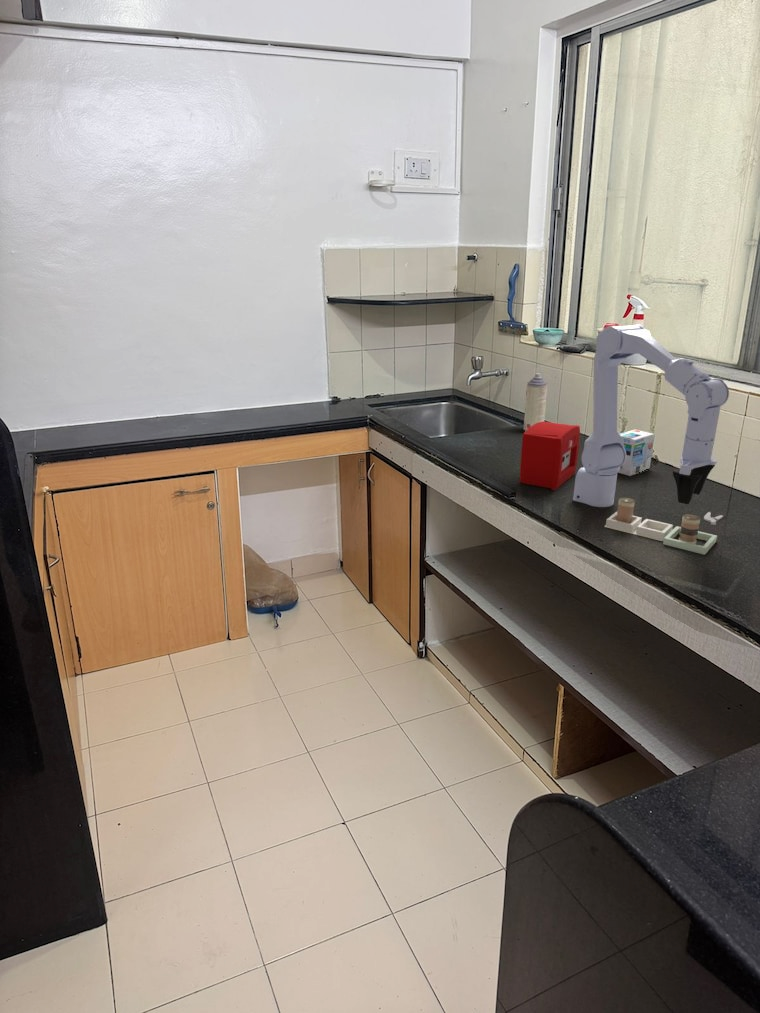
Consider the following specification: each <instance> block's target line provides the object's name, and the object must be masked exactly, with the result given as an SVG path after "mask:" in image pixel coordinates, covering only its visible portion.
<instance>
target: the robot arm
mask: <svg viewBox="0 0 760 1013" xmlns="http://www.w3.org/2000/svg"><path fill="white" fill-rule="evenodd" d="M595 342H596V343H595V344H596V346H595V347H596V348H595V350H596V351H595V353H594V356H593V357H594V358H593V393H592V394H593V396H592V397H593V402H592V403H593V405H592V406H593V411H592V412H593V414H592V415H593V417H592V422H593V423H592V426H593V427H592V428H593V429H592V431H593V432H592V433H591V434H590V435H589V436H588V437H587V438H586V439H585V441H584V443H583V444H584V446H583V447H584V448H583V451H582V454H581V464H582V466H583V467H582V466H581V467H580V468H579V469H578V471H577V473H576V475H575V479H574V488H573V496H572V500H573V501H574V502H578V503H581V504H586V505H589V506H591V507H597V508H609V507H612V506H613V505H614V504H615V503H614V501H615V494H616V487H617V481H618V480H617V478H618V473H617V472H618V471H620V467H621V466H622V465H623V464H624V463H625V461H626V456H627V455H626V450H625V448H624V439H623V438H622V437H621V436H620V435H619V434H620V433H618V427H617V426H618V387H619V386H618V382H619V381H618V380H619V379H618V378H619V374H618V371H619V366H620V365H621V364H622V363H623V362H624V361H625V360H626V359H627V358H629V357H631V356H633V355H635V354H636V355H637V354H639V356H641V357H643V358H644V359H646V360H647V361H648V362H650V363H651V364H653V365H654V366H655V367H657V368H659V369H660V371H661V370H662V371H663V372H664V380H665V381H666V382H667V383H669V385H670V386H672V387H674V388H675V389H676V390H677V391H679V392H680V394H682V395H684V399H685V403H686V404H687V414H688V416H687V423H686V430H685V436H684V440H683V446H682V453H681V455H680V467H679V468H675V469H673V471H672V476H673V479H674V481H675V485H676V492H677V493H676V494H677V502H678V503H680V504H685V505H689V504H690V503H691V500H692V498H693V495H700V494H701V492H702V491H703V488H704V485H705V483H706V481H707V478H708V476H709V475H710V474H711V472H712V470H713V469H714V468H715V466H716V464H717V461H718V460H717V459H713V458H712V454H713V450H714V443H715V439H716V434H717V427H718V424H719V418H720V413H721V412H720V411H721V407H722V406H723V405H725V404H726V403H727V401H728V400H729V397H730V390H729V387H728V385H727V384H726V382H724V380H723V379H722V378H712V377H710V374H709V373H708V372H703V371H702V370H701V369H699V368H698V367H697V366H695V365H694V361H693V360H692V359H691V358H683V357H682V358H676V357H675V356H674V355H673V354H671V353H670V352H669V351H668V350H667V349H666V348H665V347H664V346H663V345H662V344H660V342H658V340H656V339H655V338H654V337H652V335H651V331H650V330H648V329H646V328H645V327H644V326H643V325H641V324H637V323H635V324H632V325H620V326H618V325H617V326H612V325H611V326H606V327H605V328H603V329H601V331H600V333H599V334H598V335H596V341H595Z"/></svg>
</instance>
